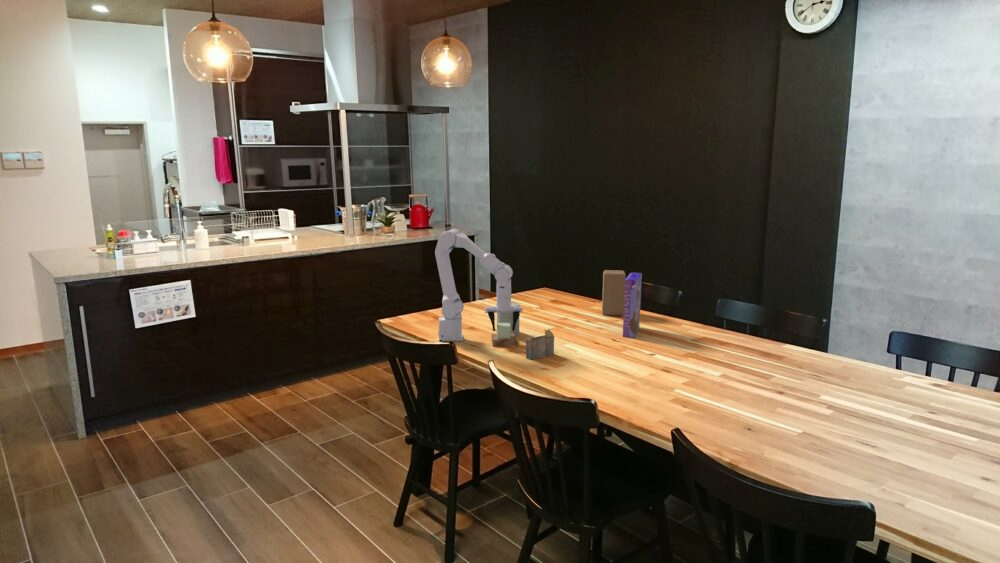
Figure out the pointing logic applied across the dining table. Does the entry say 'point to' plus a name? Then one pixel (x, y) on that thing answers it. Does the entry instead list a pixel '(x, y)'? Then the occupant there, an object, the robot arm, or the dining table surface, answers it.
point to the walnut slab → (503, 341)
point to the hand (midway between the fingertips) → (503, 330)
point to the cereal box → (632, 304)
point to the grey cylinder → (509, 318)
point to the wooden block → (613, 292)
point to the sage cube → (503, 330)
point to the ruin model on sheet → (540, 346)
